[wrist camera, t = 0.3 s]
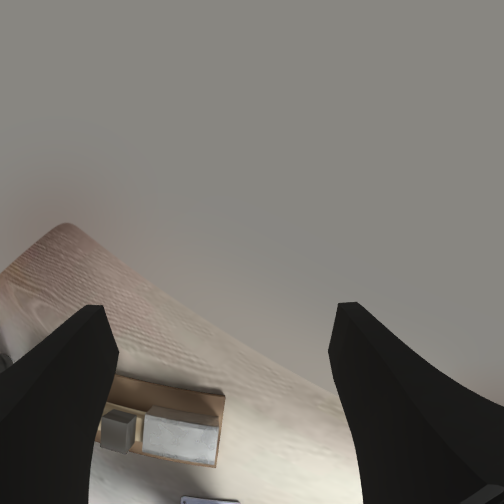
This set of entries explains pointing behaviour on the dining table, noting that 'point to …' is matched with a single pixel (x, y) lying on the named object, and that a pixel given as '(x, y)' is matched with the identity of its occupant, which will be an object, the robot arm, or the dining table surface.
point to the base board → (163, 405)
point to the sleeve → (180, 435)
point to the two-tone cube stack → (121, 427)
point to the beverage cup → (5, 362)
